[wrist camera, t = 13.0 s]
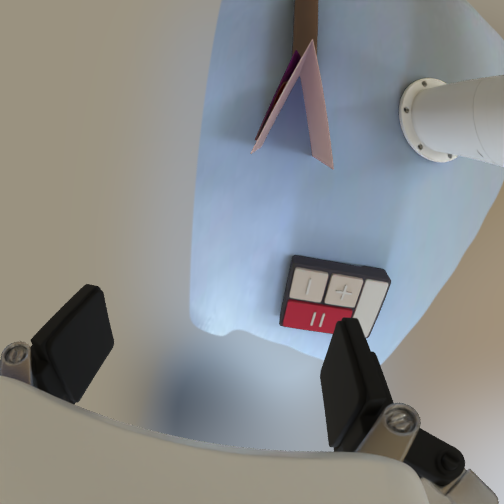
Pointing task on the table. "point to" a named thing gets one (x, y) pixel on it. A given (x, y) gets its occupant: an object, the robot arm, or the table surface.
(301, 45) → the walnut bar
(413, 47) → the table surface
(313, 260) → the calculator
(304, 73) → the greeting card
